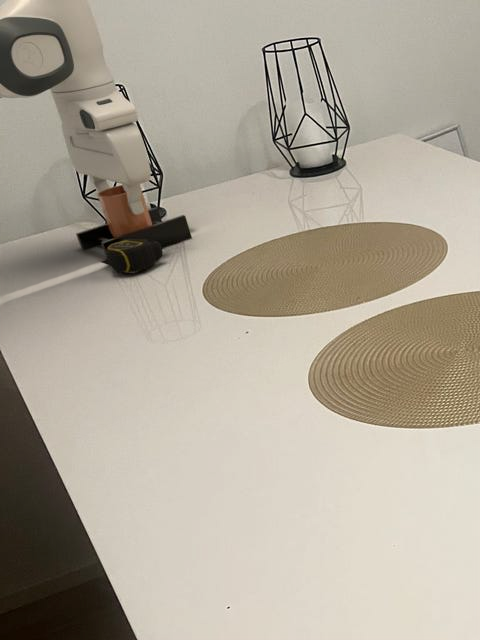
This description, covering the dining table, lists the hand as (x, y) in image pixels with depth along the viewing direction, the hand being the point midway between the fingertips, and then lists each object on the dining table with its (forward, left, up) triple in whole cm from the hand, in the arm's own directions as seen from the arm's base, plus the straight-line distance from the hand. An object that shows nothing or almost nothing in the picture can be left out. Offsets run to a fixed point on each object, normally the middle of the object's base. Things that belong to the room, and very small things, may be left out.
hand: (123, 209), depth 146 cm
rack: (0, 0, -6) cm, 6 cm away
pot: (0, 0, -3) cm, 3 cm away
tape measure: (-5, -10, -6) cm, 13 cm away
